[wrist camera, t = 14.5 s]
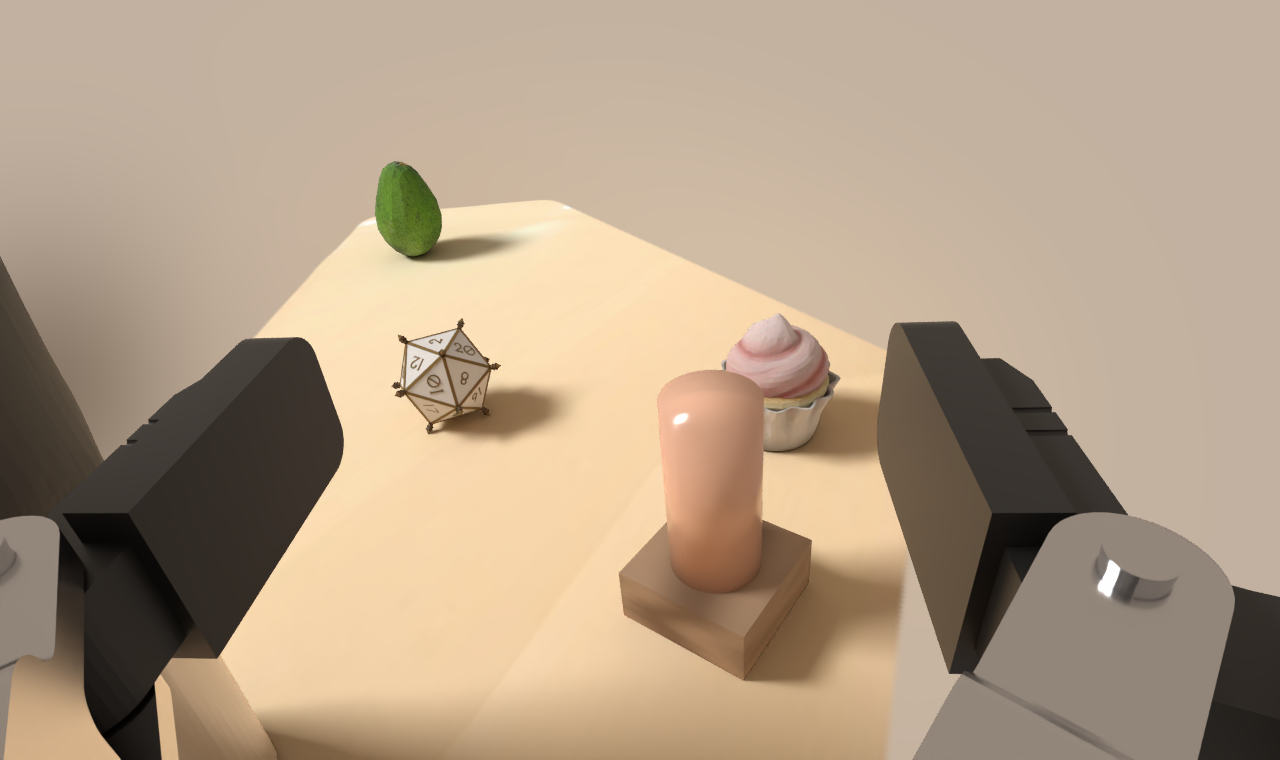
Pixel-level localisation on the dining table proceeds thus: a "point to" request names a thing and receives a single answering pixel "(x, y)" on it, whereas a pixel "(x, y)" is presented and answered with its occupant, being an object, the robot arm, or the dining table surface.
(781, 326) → the cupcake
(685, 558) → the peach cylinder
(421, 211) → the avocado
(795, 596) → the walnut base
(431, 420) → the game die
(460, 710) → the dining table surface
